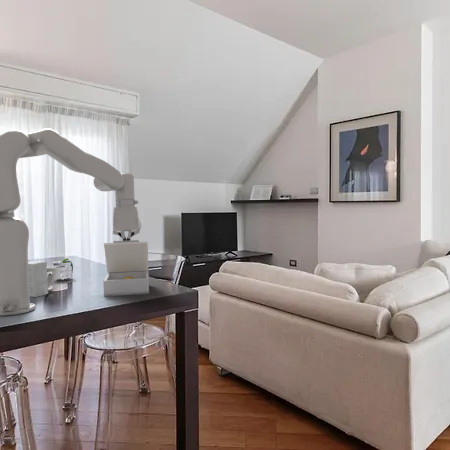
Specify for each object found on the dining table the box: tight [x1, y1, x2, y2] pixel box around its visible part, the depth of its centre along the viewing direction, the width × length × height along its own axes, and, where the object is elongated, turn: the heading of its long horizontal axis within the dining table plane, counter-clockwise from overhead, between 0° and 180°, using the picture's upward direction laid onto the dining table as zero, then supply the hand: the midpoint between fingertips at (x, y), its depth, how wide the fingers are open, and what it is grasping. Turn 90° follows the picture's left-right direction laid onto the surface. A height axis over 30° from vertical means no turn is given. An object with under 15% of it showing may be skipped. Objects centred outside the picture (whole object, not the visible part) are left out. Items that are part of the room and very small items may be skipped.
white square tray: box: [103, 270, 150, 297], centre depth 159 cm, size 17×17×6 cm
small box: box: [28, 260, 49, 298], centre depth 154 cm, size 8×6×13 cm
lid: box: [103, 239, 149, 274], centre depth 163 cm, size 18×17×2 cm
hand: (126, 248), depth 160 cm, fingers closed
